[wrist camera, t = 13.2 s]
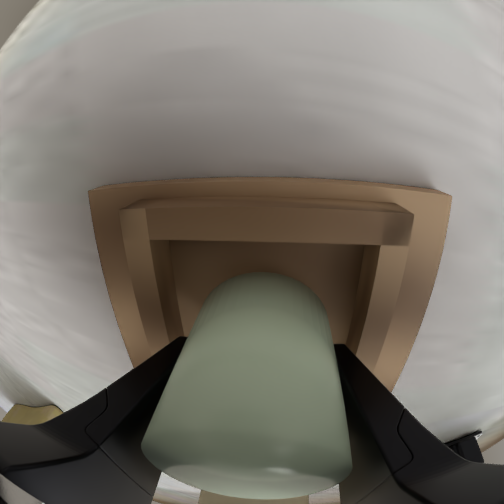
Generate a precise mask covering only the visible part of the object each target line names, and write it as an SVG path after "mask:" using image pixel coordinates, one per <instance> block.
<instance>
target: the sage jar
mask: <svg viewBox="0 0 504 504" xmlns="http://www.w3.org/2000/svg"><path fill="white" fill-rule="evenodd" d="M141 449H142V452H143V454H144V455H145V457H146V458H147V459H148V460H149V461H150V462H151V463H152V464H153V465H154V466H155V467H156V468H158V469H159V470H161V471H162V472H164V473H165V474H167V475H169V476H170V477H172V478H174V479H176V480H178V481H180V482H183V483H185V484H187V485H190V486H192V487H195V488H198V489H201V490H204V491H208V492H212V493H215V494H220V495H225V496H231V497H237V498H246V499H286V498H294V497H300V496H305V495H310V494H314V493H317V492H320V491H323V490H326V489H328V488H331V487H333V486H335V485H337V484H339V483H340V482H342V481H343V480H344V479H346V478H347V477H348V476H349V474H350V473H351V471H352V467H353V466H352V457H351V449H350V441H349V433H348V426H347V419H346V412H345V406H344V399H343V393H342V387H341V382H340V376H339V370H338V365H337V360H336V354H335V349H334V344H333V339H332V335H331V330H330V325H329V320H328V316H327V312H326V309H325V307H324V305H323V303H322V301H321V300H320V298H319V297H318V296H317V295H316V294H315V293H314V292H313V291H312V290H311V289H310V288H309V287H308V286H306V285H304V284H303V283H301V282H300V281H298V280H295V279H293V278H291V277H288V276H285V275H281V274H277V273H270V272H252V273H245V274H241V275H238V276H235V277H232V278H230V279H227V280H226V281H224V282H222V283H221V284H219V285H218V286H217V287H215V288H214V289H213V290H212V291H211V292H210V293H209V295H208V296H207V298H206V299H205V301H204V303H203V305H202V307H201V309H200V312H199V314H198V316H197V318H196V320H195V322H194V324H193V327H192V329H191V331H190V333H189V335H188V338H187V340H186V342H185V344H184V346H183V349H182V351H181V353H180V355H179V357H178V360H177V362H176V364H175V366H174V369H173V371H172V373H171V375H170V378H169V380H168V382H167V384H166V387H165V389H164V391H163V393H162V396H161V398H160V400H159V403H158V405H157V407H156V410H155V412H154V414H153V417H152V419H151V421H150V424H149V426H148V428H147V431H146V433H145V435H144V438H143V440H142V443H141Z"/></svg>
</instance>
